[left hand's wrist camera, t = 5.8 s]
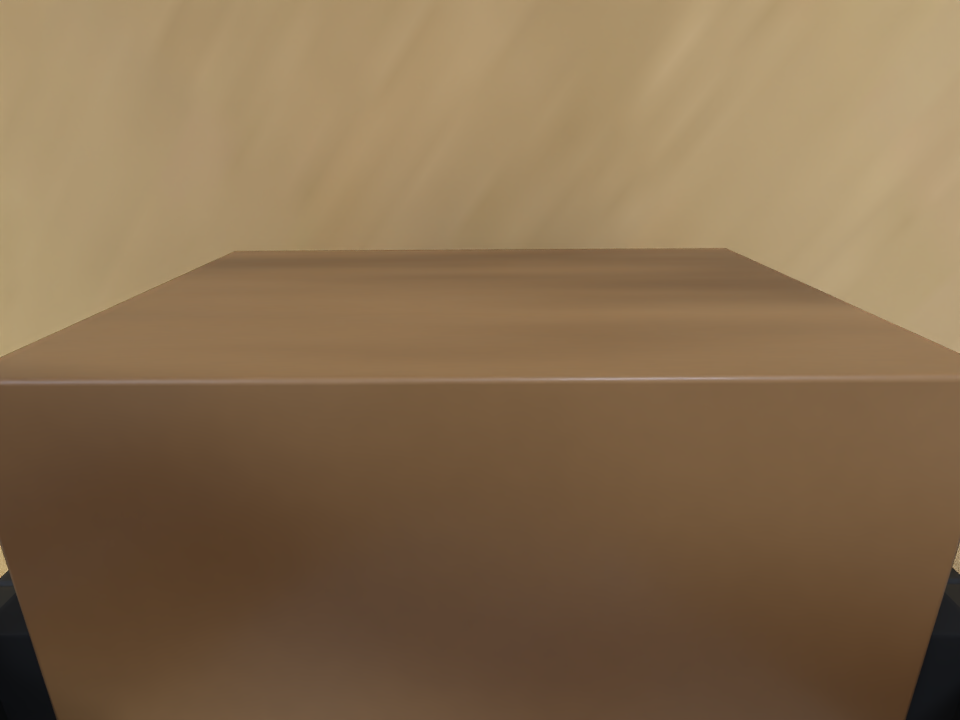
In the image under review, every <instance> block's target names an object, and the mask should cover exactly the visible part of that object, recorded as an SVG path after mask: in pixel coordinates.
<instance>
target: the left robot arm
mask: <svg viewBox="0 0 960 720" xmlns="http://www.w3.org/2000/svg"><path fill="white" fill-rule="evenodd" d="M0 720H57V719H56V716H55V713H54V710H53V707H52V704H51V700H50V697H49V694H48V691H47V688H46V685H45V682H44V679H43V676H42V672H41V669H40V666H39V663H38V660H37V657H36V654H35V651H34V648H33V644H32V641H31V638H30V635H29V632H28V629H27V626H26V623H25V620H24V616H23V613H22V610H21V607H20V604H19V601H18V598H17V595H16V592H15V588H14V585H13V582H12V579H11V576H10V573H9V570H8V571H7V572H6V573H5V574H4V575H3V576H2V577H1V578H0ZM906 720H960V574H959V573H958V572H957V571H955V570H954V569H953V568H952V569H951V572H950V576H949V579H948V582H947V585H946V589H945V592H944V595H943V599H942V602H941V605H940V608H939V612H938V615H937V618H936V621H935V625H934V628H933V631H932V635H931V638H930V641H929V644H928V648H927V651H926V654H925V658H924V661H923V664H922V667H921V671H920V674H919V677H918V680H917V684H916V687H915V690H914V694H913V697H912V700H911V703H910V707H909V710H908V713H907V717H906Z"/></svg>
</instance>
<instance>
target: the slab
mask: <svg viewBox="0 0 960 720" xmlns="http://www.w3.org/2000/svg"><path fill="white" fill-rule="evenodd" d="M959 543H960V354H959V353H957V352H955V351H953V350H951V349H948V348H946V347H944V346H942V345H939V344H937V343H935V342H933V341H931V340H928V339H926V338H924V337H922V336H920V335H917V334H915V333H913V332H911V331H908V330H906V329H904V328H902V327H900V326H897V325H895V324H893V323H891V322H888V321H886V320H884V319H882V318H880V317H877V316H875V315H873V314H871V313H868V312H866V311H864V310H862V309H860V308H857V307H855V306H853V305H851V304H849V303H846V302H844V301H842V300H840V299H837V298H835V297H833V296H831V295H829V294H826V293H824V292H822V291H820V290H817V289H815V288H813V287H811V286H809V285H806V284H804V283H802V282H800V281H797V280H795V279H793V278H791V277H789V276H786V275H784V274H782V273H780V272H778V271H775V270H773V269H771V268H769V267H766V266H764V265H762V264H760V263H758V262H755V261H753V260H751V259H749V258H746V257H744V256H742V255H740V254H738V253H735V252H733V251H731V250H729V249H726V248H693V249H524V250H354V251H234V252H232V253H230V254H228V255H225V256H223V257H221V258H219V259H217V260H214V261H212V262H210V263H208V264H205V265H203V266H201V267H199V268H197V269H194V270H192V271H190V272H188V273H186V274H183V275H181V276H179V277H177V278H175V279H172V280H170V281H168V282H166V283H164V284H161V285H159V286H157V287H155V288H153V289H150V290H148V291H146V292H144V293H141V294H139V295H137V296H135V297H133V298H130V299H128V300H126V301H124V302H122V303H119V304H117V305H115V306H113V307H111V308H108V309H106V310H104V311H102V312H100V313H97V314H95V315H93V316H91V317H89V318H86V319H84V320H82V321H80V322H77V323H75V324H73V325H71V326H69V327H66V328H64V329H62V330H60V331H58V332H55V333H53V334H51V335H49V336H47V337H44V338H42V339H40V340H38V341H36V342H33V343H31V344H29V345H27V346H25V347H22V348H20V349H18V350H16V351H13V352H11V353H9V354H7V355H5V356H2V357H0V545H1V548H2V551H3V554H4V557H5V560H6V564H7V567H8V570H9V573H10V576H11V579H12V582H13V585H14V588H15V592H16V595H17V598H18V601H19V604H20V607H21V610H22V613H23V616H24V620H25V623H26V626H27V629H28V632H29V635H30V638H31V641H32V644H33V648H34V651H35V654H36V657H37V660H38V663H39V666H40V669H41V672H42V676H43V679H44V682H45V685H46V688H47V691H48V694H49V697H50V700H51V704H52V707H53V710H54V713H55V716H56V719H57V720H906V717H907V713H908V710H909V707H910V703H911V700H912V697H913V694H914V690H915V687H916V684H917V680H918V677H919V674H920V671H921V667H922V664H923V661H924V658H925V654H926V651H927V648H928V644H929V641H930V638H931V635H932V631H933V628H934V625H935V621H936V618H937V615H938V612H939V608H940V605H941V602H942V599H943V595H944V592H945V589H946V585H947V582H948V579H949V576H950V572H951V569H952V566H953V563H954V559H955V556H956V553H957V549H958V546H959Z"/></svg>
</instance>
